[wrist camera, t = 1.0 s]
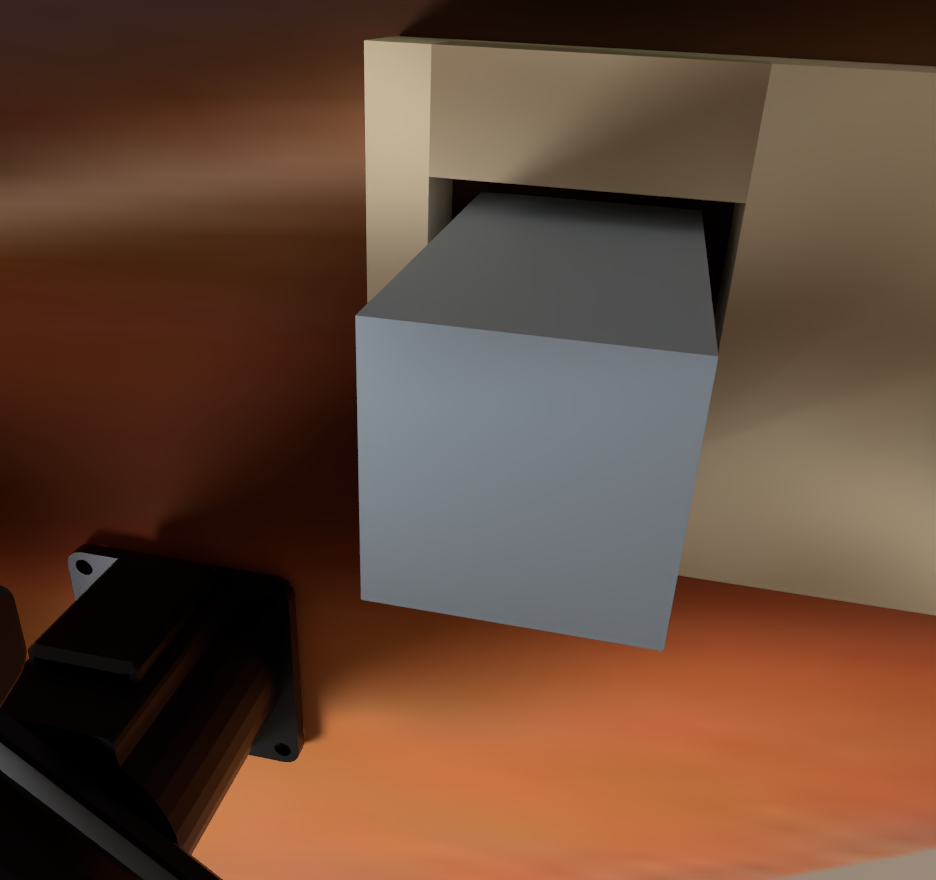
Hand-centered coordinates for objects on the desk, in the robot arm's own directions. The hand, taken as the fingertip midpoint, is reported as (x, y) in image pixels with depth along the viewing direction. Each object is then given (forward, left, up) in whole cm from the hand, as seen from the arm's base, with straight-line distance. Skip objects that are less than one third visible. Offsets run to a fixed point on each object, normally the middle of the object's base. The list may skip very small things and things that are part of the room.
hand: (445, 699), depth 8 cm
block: (0, 0, -12) cm, 12 cm away
